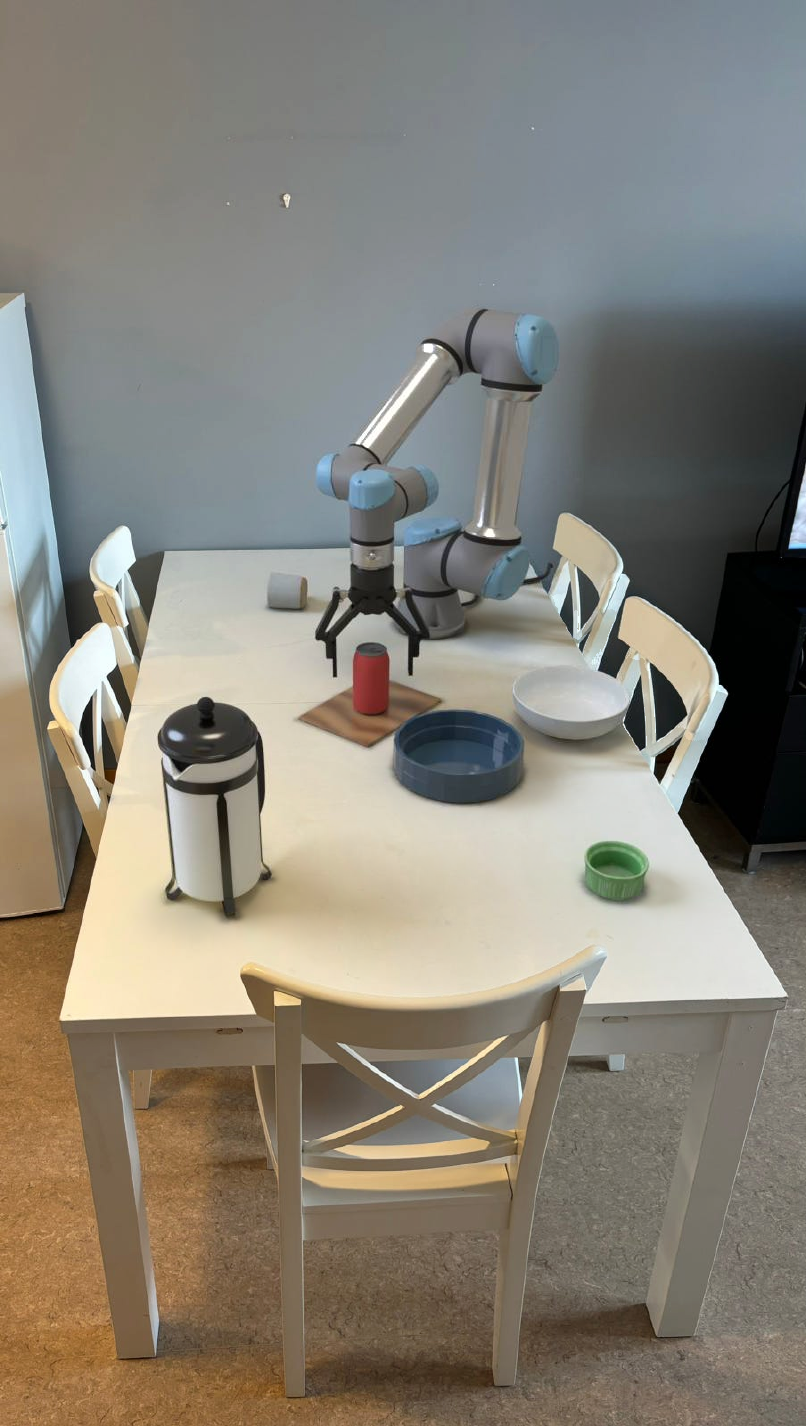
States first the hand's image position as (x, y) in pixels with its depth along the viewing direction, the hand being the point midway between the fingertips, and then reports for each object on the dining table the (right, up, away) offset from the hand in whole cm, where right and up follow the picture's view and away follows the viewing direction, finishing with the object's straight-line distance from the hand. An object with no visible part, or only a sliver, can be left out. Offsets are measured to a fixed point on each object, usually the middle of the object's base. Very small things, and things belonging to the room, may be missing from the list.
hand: (372, 673), depth 194 cm
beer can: (0, -6, +3) cm, 7 cm away
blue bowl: (+15, -17, -14) cm, 26 cm away
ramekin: (+35, -32, -41) cm, 63 cm away
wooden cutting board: (0, -7, +3) cm, 7 cm away
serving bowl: (+35, -9, 0) cm, 36 cm away
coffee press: (-20, -31, -42) cm, 56 cm away
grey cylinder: (-20, +17, +46) cm, 53 cm away
